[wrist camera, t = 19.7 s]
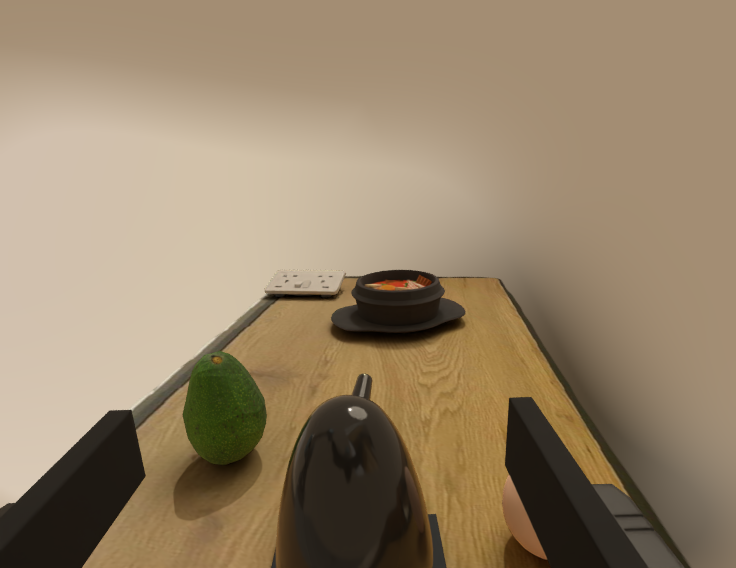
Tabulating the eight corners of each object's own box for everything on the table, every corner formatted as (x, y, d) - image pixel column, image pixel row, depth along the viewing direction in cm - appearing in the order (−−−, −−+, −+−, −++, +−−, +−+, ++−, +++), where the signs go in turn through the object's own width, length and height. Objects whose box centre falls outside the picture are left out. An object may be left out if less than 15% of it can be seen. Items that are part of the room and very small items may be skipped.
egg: (611, 558, 32) (625, 469, 30) (552, 603, 29) (562, 507, 27) (539, 501, 38) (545, 422, 36) (482, 533, 35) (485, 450, 33)
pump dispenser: (437, 543, 34) (438, 365, 29) (426, 701, 24) (425, 469, 20) (312, 525, 36) (297, 357, 32) (256, 663, 26) (222, 446, 22)
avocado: (179, 484, 42) (157, 372, 38) (208, 435, 49) (192, 337, 46) (261, 482, 42) (246, 369, 38) (278, 433, 49) (267, 335, 46)
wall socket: (347, 278, 108) (345, 263, 106) (345, 306, 94) (342, 290, 92) (274, 285, 108) (271, 270, 107) (261, 314, 94) (257, 297, 93)
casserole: (442, 300, 92) (442, 262, 90) (483, 332, 75) (485, 285, 72) (325, 314, 87) (322, 273, 85) (340, 351, 70) (337, 301, 67)
